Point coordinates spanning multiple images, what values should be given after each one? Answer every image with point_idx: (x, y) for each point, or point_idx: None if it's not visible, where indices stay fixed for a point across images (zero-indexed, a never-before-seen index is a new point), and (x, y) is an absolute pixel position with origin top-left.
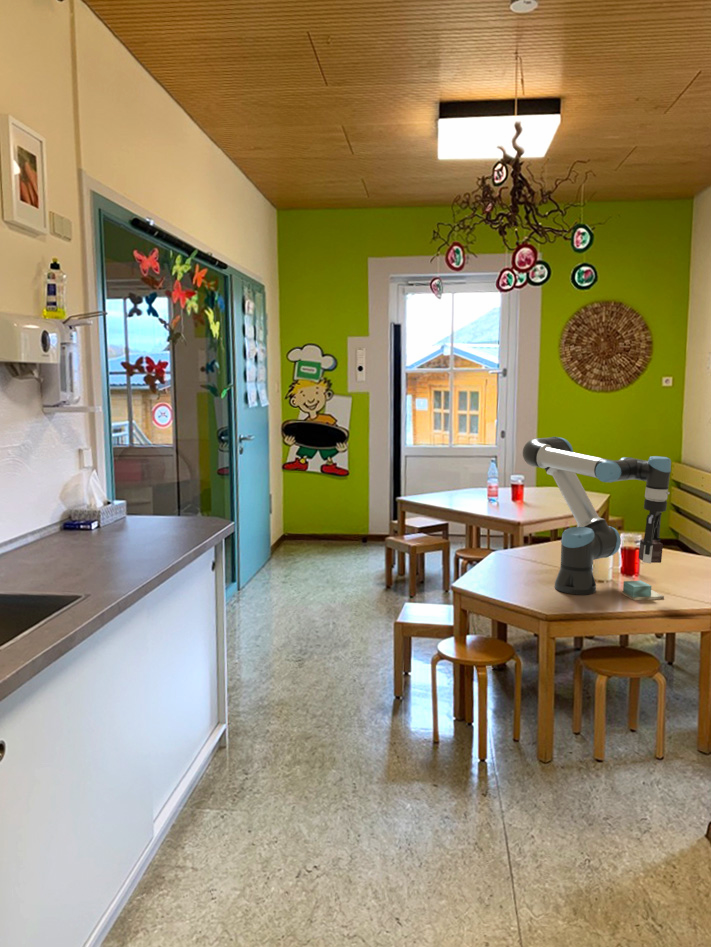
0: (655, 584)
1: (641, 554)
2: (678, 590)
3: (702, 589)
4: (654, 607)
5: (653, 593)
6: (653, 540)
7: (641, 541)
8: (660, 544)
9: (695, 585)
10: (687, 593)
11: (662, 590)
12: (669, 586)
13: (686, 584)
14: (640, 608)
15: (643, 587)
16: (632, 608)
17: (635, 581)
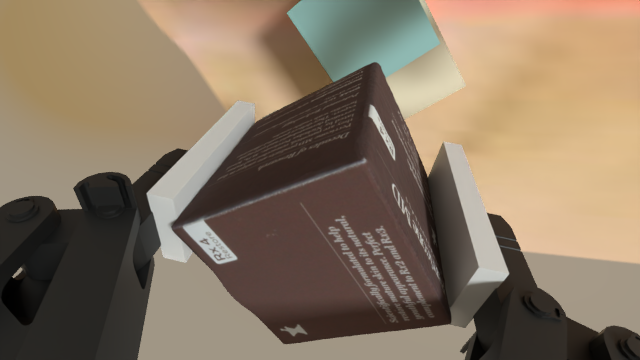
0: (627, 99)
1: (312, 104)
2: (525, 183)
3: (555, 252)
4: (245, 96)
5: (404, 95)
6: (389, 302)
7: (315, 167)
8: (266, 323)
9: (616, 240)
10: (485, 207)
11: (512, 128)
12: (590, 156)
13: (631, 215)
14: (199, 45)
15: (322, 62)
16: (177, 11)
17: (407, 12)
